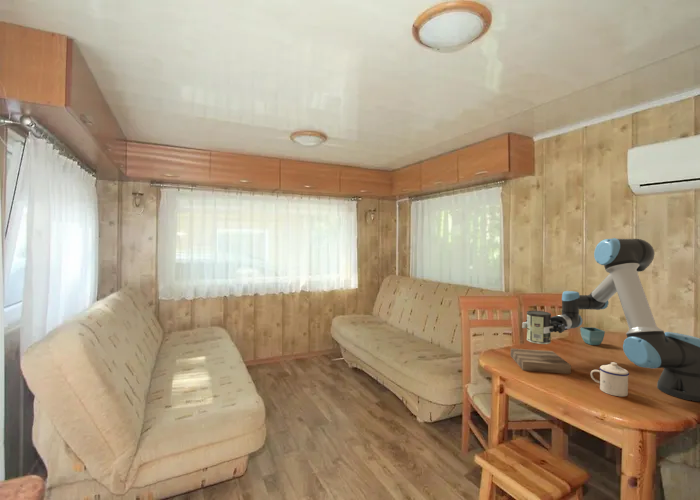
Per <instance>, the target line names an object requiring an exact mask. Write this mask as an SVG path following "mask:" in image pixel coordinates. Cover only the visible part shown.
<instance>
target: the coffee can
mask: <svg viewBox="0 0 700 500" xmlns="http://www.w3.org/2000/svg"><path fill="white" fill-rule="evenodd" d="M551 317H552V313H551V312H547V311H542V310H527V311H526V320H527V328H526V341H528V342H529V343H533V344H537V345H538V344H539V345H549V344H551V343H552V342H551V341H552V340H551V339H552V337H551V333H552V332H551V333H546V334H544V327H549V326H551Z"/></svg>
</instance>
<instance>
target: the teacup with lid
mask: <svg viewBox="0 0 700 500" xmlns="http://www.w3.org/2000/svg"><path fill="white" fill-rule="evenodd" d="M593 373H599V380H598V379H596V378H595V377H594V375H593ZM629 375H630V373H629V371H628V370H627V369H625V368H623V367H622V366H619V365H618V363H617V362H614V361H613V362H612V361H611V362H610V363H609V364H602V365H600V366H599V369H593V370H591V371H590V378H591V379H592V380H593V381H594V382H596V383H598V384H599V390H600V391H601V392H603V393H604V394H607V395H611V396H615V397H620V398H621V397H627V396H628V394H629V392H628V391H629Z"/></svg>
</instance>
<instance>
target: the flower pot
mask: <svg viewBox="0 0 700 500" xmlns="http://www.w3.org/2000/svg"><path fill="white" fill-rule="evenodd" d="M579 327H580V326H579ZM605 333H606V331H605V330H602V329H599V328H596V327H592V326H591V327H588V326H586V327H580V336H581V338H582V340H583V342H584V343H585V344H587V345H590V346H600V345H601V343H602V342H603V340H604V337H605Z"/></svg>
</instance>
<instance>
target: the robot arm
mask: <svg viewBox="0 0 700 500" xmlns="http://www.w3.org/2000/svg"><path fill="white" fill-rule="evenodd" d="M593 254H594V255H593V257H594V259H595V262H596V263H597V264H599V265H601V266H604V270H605V272H606V273H609V274H608V275H607V276H606V277H605V278H604V279H603V280H602V281H601V282H600V283H599V284H598V285H597V286H596V288H595V289H593V290H592V292H590V294H580V292H578V291H572V290H564V291H563V292H562V294H561V314H559V315H554V316H551V326H549V327H544V334H546V333H553V332H554V333H559V334H562V333H563V332H564V331H567V330H570V329H575V328H579V327H580V326H582V324H583V318H582V316H581V315H580V310H593V311H594V310H597V311H599V310H605V309H607V308H608V305H609V303H610V301H609V300H610V299H611V298H612V297H613V296H614V295H615V294H617V296H618V299H619V302H620V306H621V308H622V311H623V313H624V317H625V320H626V322H627V323H626V324H627V325H628V331H626V333H625V335H626V338H625V339H624V341H623V344H622V349H623V350H622V351H623V353H624V355H625V356H626V357H627V359H628V360H629V361H630V362H631V363H633V364H634V365H635V366H637V367H640V368H643V369H644V368H645V369H661V368H662V369H663V370H662V372H661V373H660V376H659V379H658V380H657V383H656V387H657V389H658V390H659V391H660V392H662V393H664V394H667V395H669V396H672V397H675V398H678V399H681V400H687V401H691V400H692V402H700V338H699V337H696V336H692V335H688V334H683V333H678V332H673V331H664V330H663V329H662V328H660V327H658V326H657V324H656V320H655V318H654V315H653V313H652V309H651V307H650V304H649V301H648V298H647V295H646V293H645V290H644V287H643V284H642V282H641V279H640V277H639V276H640V275H639V272H643V271H645V270H646V269H648V268H649V266H650V265H651V264H652V263H653V260H654V259H655V249H654V247H653V245H652V244H651V243H649V242H648V241H646V240H643V239H642V238H641V239H640V238H615V237H614V238H613V237H612V238H605V239H603V240H601V241H599V242H598V243H597V245H596V246H595V248H594V253H593ZM521 328H522V329H527V319H526V320H525V322H524V321H523V322H522V323H521Z"/></svg>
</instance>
